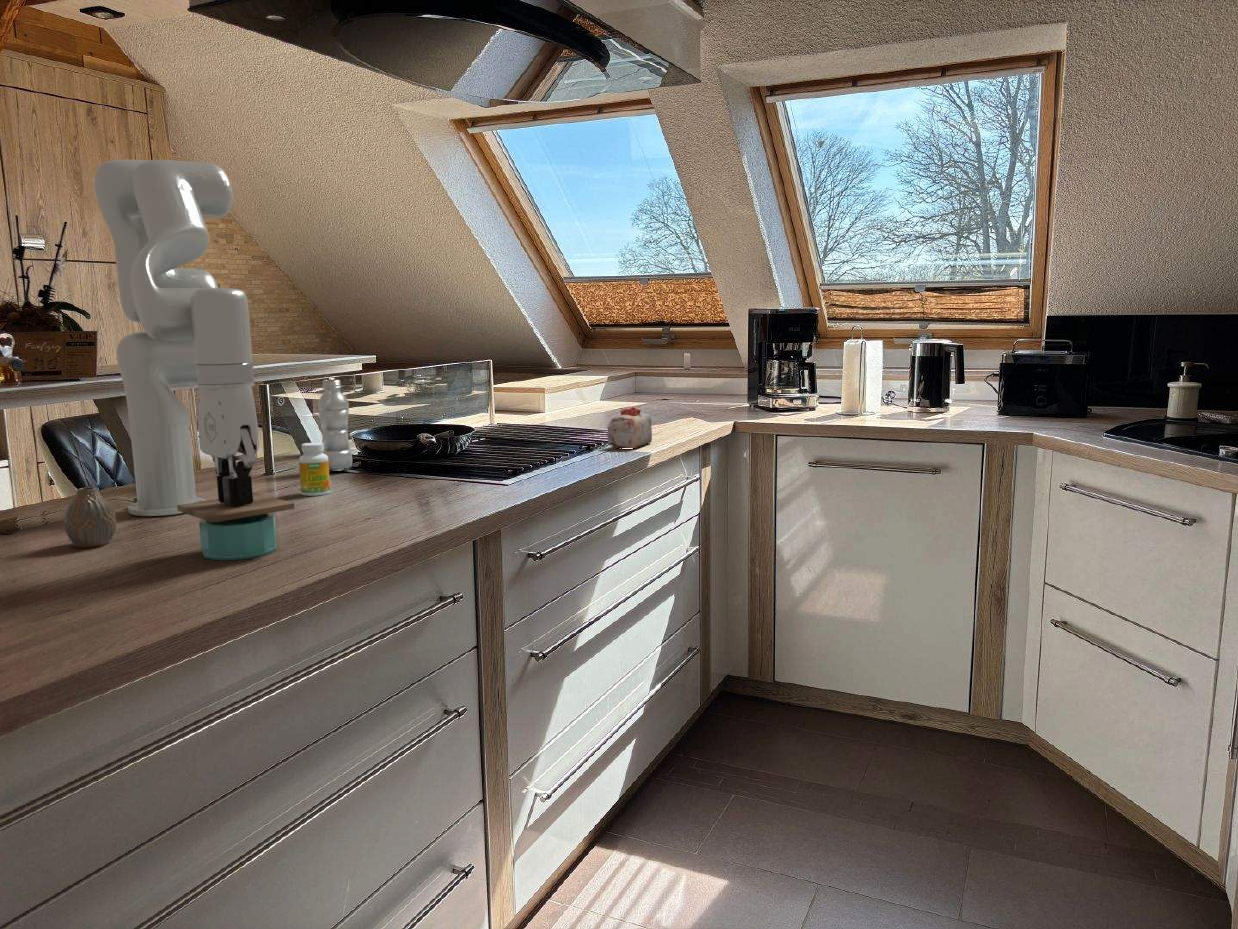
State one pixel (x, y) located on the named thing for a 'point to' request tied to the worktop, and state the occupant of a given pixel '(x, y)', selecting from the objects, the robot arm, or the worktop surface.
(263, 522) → the bowl
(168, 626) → the worktop surface
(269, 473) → the worktop surface
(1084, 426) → the worktop surface
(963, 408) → the worktop surface
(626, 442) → the food item
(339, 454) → the plastic bottle
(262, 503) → the lid
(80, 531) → the vase
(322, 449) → the supplement bottle
